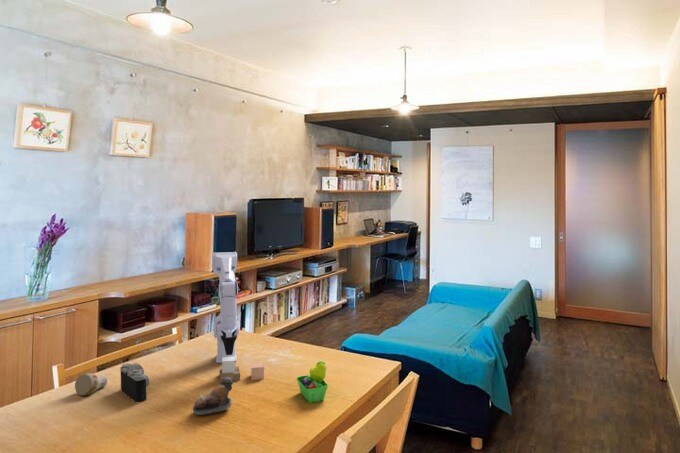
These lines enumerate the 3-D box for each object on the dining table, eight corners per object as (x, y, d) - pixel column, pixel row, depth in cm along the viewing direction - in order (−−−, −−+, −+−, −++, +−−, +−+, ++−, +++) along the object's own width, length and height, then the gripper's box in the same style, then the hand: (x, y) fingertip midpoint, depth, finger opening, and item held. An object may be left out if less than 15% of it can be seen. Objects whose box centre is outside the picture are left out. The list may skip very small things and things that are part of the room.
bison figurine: (193, 420, 130) (193, 386, 130) (191, 410, 137) (191, 378, 136) (235, 412, 135) (234, 380, 135) (231, 403, 142) (230, 372, 141)
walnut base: (219, 376, 165) (219, 368, 165) (238, 374, 167) (238, 366, 167) (220, 383, 158) (220, 375, 158) (240, 381, 160) (240, 373, 160)
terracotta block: (250, 375, 165) (250, 363, 164) (263, 374, 166) (262, 362, 165) (251, 380, 160) (251, 368, 160) (264, 379, 161) (264, 366, 161)
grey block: (222, 369, 164) (222, 357, 164) (234, 368, 165) (234, 356, 165) (222, 373, 159) (222, 361, 159) (234, 372, 160) (234, 360, 160)
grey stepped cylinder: (114, 386, 155) (107, 367, 150) (90, 408, 148) (82, 389, 142) (99, 378, 158) (92, 359, 152) (75, 399, 151) (66, 380, 145)
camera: (157, 397, 146) (156, 367, 145) (136, 404, 141) (135, 373, 141) (138, 384, 156) (138, 356, 156) (118, 390, 151) (118, 361, 151)
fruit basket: (295, 391, 150) (295, 359, 150) (320, 387, 154) (320, 355, 153) (306, 405, 140) (306, 370, 139) (332, 400, 143) (332, 366, 143)
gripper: (217, 310, 167) (218, 345, 168) (216, 320, 153) (217, 358, 154) (236, 309, 169) (237, 344, 170) (237, 319, 155) (238, 357, 156)
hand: (229, 351), depth 162 cm, fingers open, 7 cm apart
